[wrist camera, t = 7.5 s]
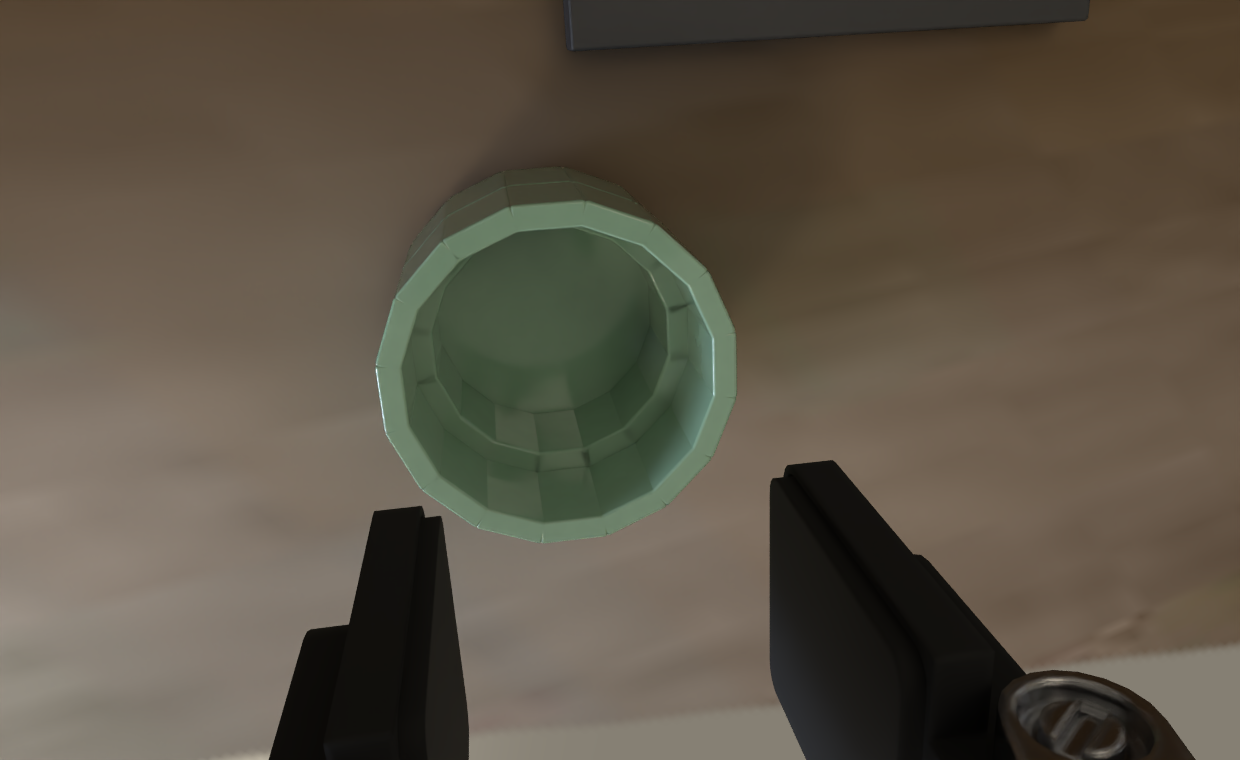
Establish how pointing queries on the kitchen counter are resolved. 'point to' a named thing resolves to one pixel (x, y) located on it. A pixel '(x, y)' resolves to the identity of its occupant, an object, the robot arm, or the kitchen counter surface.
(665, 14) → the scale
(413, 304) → the green cup
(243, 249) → the kitchen counter surface
